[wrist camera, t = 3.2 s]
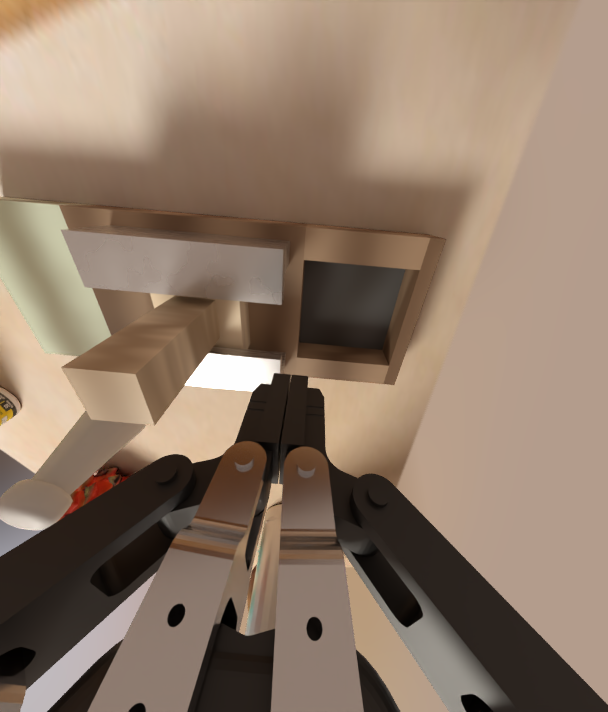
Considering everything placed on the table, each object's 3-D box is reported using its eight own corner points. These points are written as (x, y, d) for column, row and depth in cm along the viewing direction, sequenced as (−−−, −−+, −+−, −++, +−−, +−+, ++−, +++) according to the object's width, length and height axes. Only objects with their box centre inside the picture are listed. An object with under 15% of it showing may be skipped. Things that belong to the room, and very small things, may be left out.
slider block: (246, 269, 17) (167, 340, 8) (250, 343, 20) (196, 451, 11) (162, 262, 17) (-8, 324, 8) (179, 336, 20) (70, 440, 11)
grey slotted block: (289, 241, 16) (283, 249, 13) (285, 366, 21) (279, 393, 18) (110, 225, 16) (60, 229, 13) (151, 354, 21) (123, 379, 18)
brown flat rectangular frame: (427, 234, 18) (446, 239, 15) (386, 366, 24) (394, 384, 22) (3, 196, 18) (-49, 195, 15) (73, 337, 24) (44, 353, 22)
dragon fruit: (82, 458, 39) (162, 456, 40) (78, 512, 38) (158, 509, 40) (30, 482, 30) (134, 479, 32) (23, 553, 30) (129, 546, 31)
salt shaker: (117, 375, 27) (-22, 493, 16) (164, 402, 29) (69, 525, 18) (100, 401, 29) (-32, 520, 18) (144, 425, 31) (49, 545, 20)
